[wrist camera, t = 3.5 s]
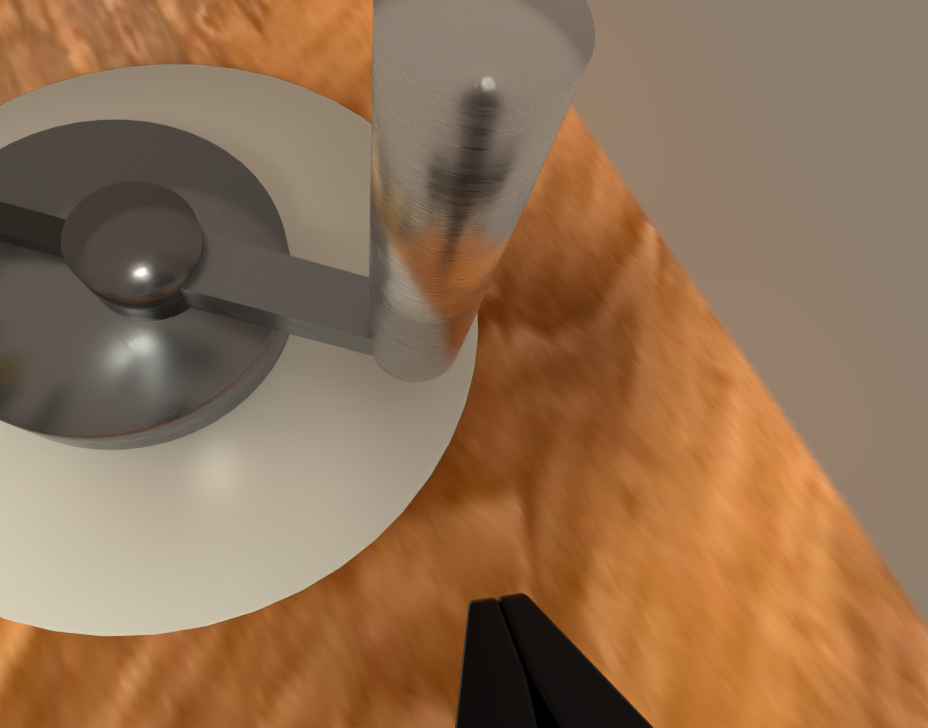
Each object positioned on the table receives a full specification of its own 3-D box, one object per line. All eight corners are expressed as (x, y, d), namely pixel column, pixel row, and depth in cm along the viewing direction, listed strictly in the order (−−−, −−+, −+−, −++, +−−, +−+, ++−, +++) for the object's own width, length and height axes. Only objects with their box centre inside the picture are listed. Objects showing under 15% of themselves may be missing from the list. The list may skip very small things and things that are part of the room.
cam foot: (467, 367, 18) (637, 41, 7) (154, 624, 15) (-555, 829, 3) (210, 83, 20) (9, -548, 9) (-123, 252, 16) (-1194, -435, 5)
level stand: (577, 359, 20) (628, 309, 16) (82, 801, 14) (-24, 890, 10) (256, 17, 23) (234, -97, 19) (-279, 274, 17) (-474, 187, 13)
